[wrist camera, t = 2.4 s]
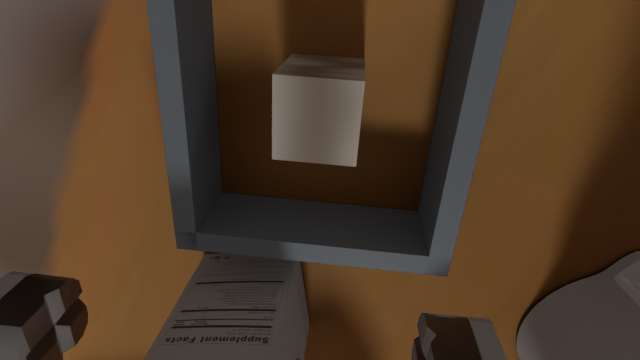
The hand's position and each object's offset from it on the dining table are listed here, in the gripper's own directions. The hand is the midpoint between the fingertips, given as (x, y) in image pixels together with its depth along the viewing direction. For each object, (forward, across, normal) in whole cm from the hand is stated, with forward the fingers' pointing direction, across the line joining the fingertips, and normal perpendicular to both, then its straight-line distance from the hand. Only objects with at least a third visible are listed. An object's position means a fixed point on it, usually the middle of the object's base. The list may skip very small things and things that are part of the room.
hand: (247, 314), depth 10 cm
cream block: (+22, 0, 0) cm, 22 cm away
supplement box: (+22, +4, +19) cm, 29 cm away
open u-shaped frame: (+22, 0, +1) cm, 22 cm away
